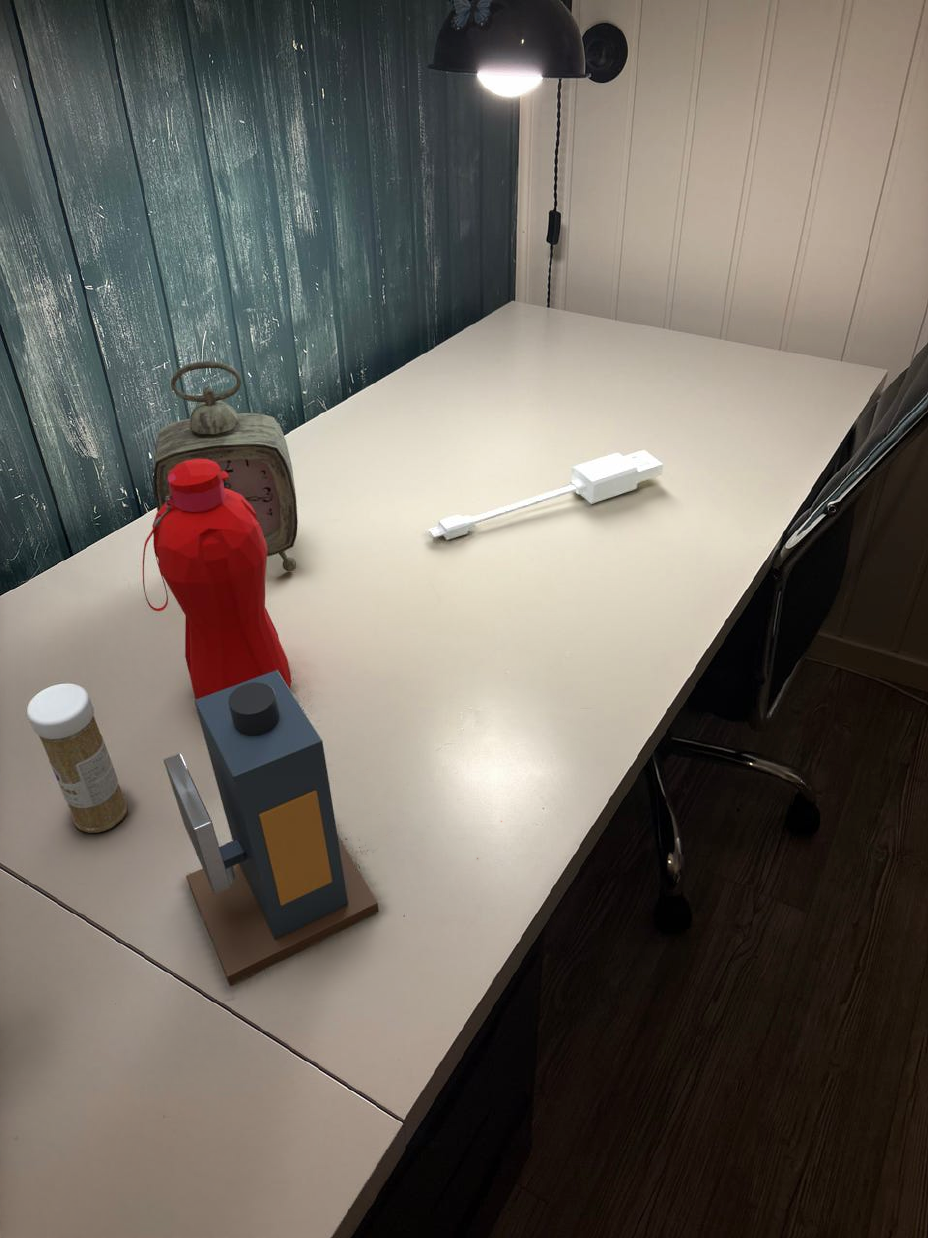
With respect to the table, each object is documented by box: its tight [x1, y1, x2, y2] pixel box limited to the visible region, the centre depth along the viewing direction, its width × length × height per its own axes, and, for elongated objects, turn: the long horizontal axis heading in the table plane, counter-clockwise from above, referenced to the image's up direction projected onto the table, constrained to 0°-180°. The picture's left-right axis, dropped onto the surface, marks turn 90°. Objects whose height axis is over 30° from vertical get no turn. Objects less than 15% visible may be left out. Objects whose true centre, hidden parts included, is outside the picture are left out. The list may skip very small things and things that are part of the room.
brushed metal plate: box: [163, 753, 231, 894], centre depth 63 cm, size 1×7×7 cm, turn 30°
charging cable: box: [427, 449, 664, 541], centre depth 116 cm, size 5×32×3 cm, turn 117°
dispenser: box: [185, 670, 380, 986], centre depth 65 cm, size 12×10×21 cm
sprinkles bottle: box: [26, 683, 128, 834], centre depth 75 cm, size 5×5×13 cm
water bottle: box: [142, 459, 293, 701], centre depth 83 cm, size 9×11×25 cm
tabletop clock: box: [152, 360, 299, 573], centre depth 100 cm, size 14×9×25 cm, turn 102°
